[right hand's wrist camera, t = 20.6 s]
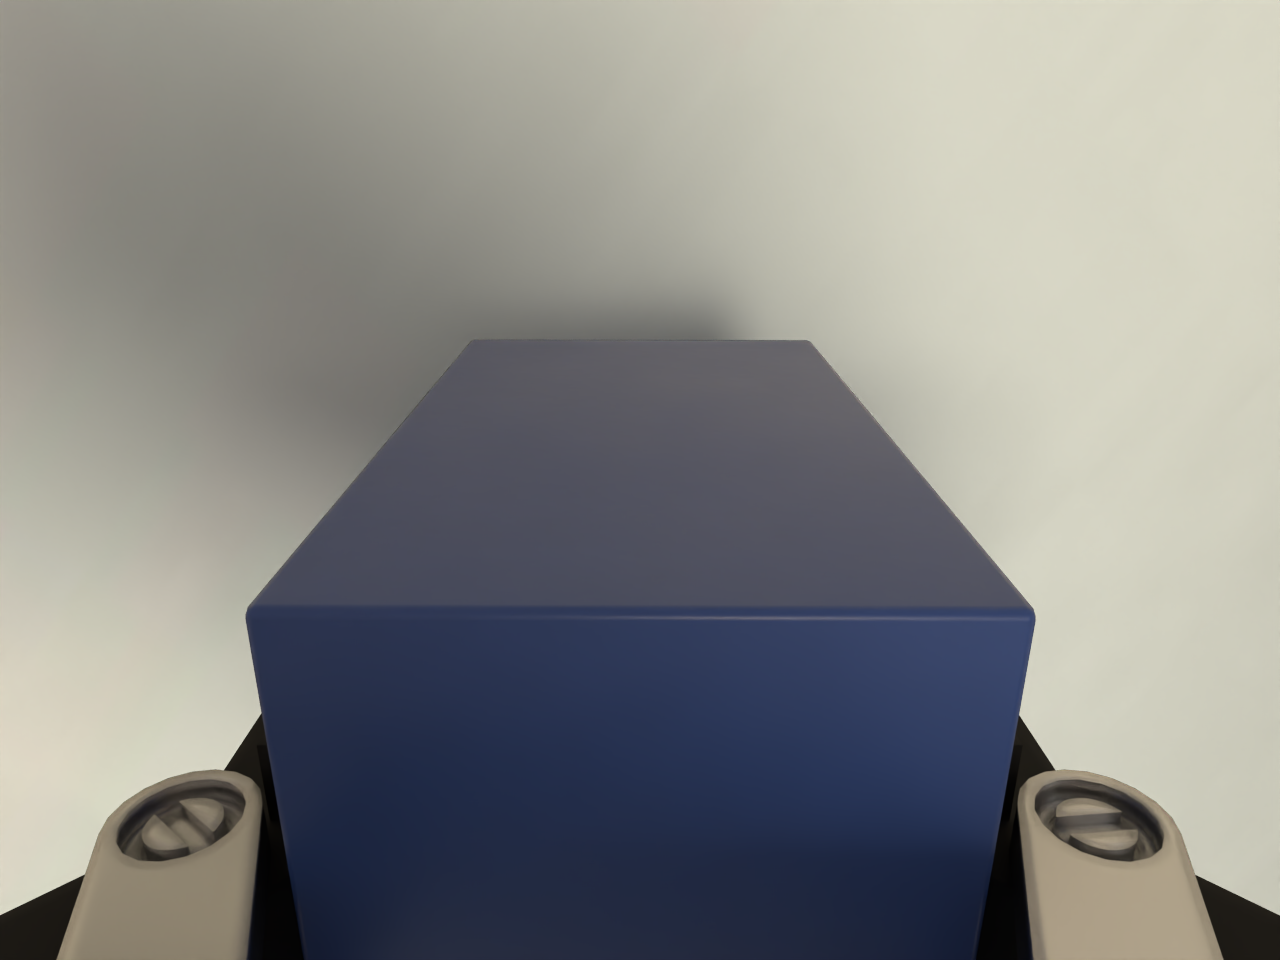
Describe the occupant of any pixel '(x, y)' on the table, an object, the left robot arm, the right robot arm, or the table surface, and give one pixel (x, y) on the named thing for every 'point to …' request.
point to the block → (640, 673)
